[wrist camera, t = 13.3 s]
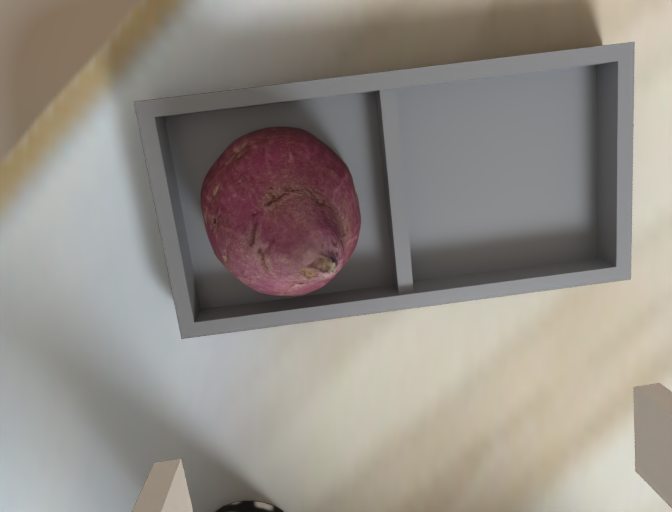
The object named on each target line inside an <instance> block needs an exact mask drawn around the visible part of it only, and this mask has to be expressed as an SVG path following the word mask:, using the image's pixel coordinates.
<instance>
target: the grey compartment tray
mask: <svg viewBox="0 0 672 512" xmlns="http://www.w3.org/2000/svg"><path fill="white" fill-rule="evenodd" d="M634 44H635V42H628V43H620V44H611V45H603V46H595V47H586V48H578V49H570V50H561V51H553V52H545V53H536V54H528V55H519V56H511V57H503V58H494V59H486V60H478V61H469V62H461V63H453V64H444V65H436V66H428V67H419V68H411V69H403V70H394V71H386V72H378V73H369V74H361V75H353V76H344V77H336V78H327V79H319V80H311V81H302V82H294V83H286V84H277V85H269V86H261V87H252V88H244V89H236V90H227V91H219V92H211V93H202V94H194V95H186V96H177V97H169V98H161V99H152V100H144V101H136V102H134V104H135V109H136V114H137V119H138V124H139V129H140V134H141V139H142V144H143V149H144V154H145V159H146V164H147V169H148V174H149V179H150V184H151V189H152V194H153V199H154V204H155V209H156V214H157V219H158V224H159V229H160V234H161V239H162V244H163V249H164V254H165V259H166V264H167V269H168V274H169V279H170V284H171V289H172V294H173V299H174V304H175V309H176V314H177V319H178V324H179V329H180V334H181V339H185V338H192V337H200V336H207V335H215V334H222V333H230V332H237V331H245V330H253V329H260V328H268V327H275V326H283V325H290V324H298V323H305V322H313V321H321V320H328V319H336V318H343V317H351V316H358V315H366V314H373V313H381V312H388V311H396V310H404V309H411V308H419V307H426V306H434V305H441V304H449V303H456V302H464V301H472V300H479V299H487V298H494V297H502V296H509V295H517V294H524V293H532V292H540V291H547V290H555V289H562V288H570V287H577V286H585V285H592V284H600V283H607V282H615V281H623V280H630V279H631V244H632V177H633V110H634ZM269 127H294V128H300V129H303V130H306V131H308V132H309V133H311V134H313V135H314V136H315V137H316V138H318V139H319V140H321V141H322V142H323V143H325V144H326V145H327V146H329V147H330V148H331V149H332V150H333V151H334V152H335V153H336V154H337V155H338V156H339V157H340V158H341V159H342V160H343V161H344V162H345V164H346V165H347V166H348V168H349V171H350V173H351V175H352V178H353V183H354V186H355V191H356V193H357V196H358V200H359V207H360V214H361V228H360V233H359V238H358V242H357V246H356V248H355V250H354V252H353V253H352V255H351V257H350V258H349V260H348V262H347V263H346V264H345V265H344V266H343V267H342V269H341V270H340V271H339V272H338V273H337V275H336V276H335V277H334V278H333V279H331V280H330V281H329V282H328V283H327V284H326V285H325V286H323V287H321V288H319V289H317V290H315V291H312V292H310V293H307V294H304V295H299V296H287V295H283V296H277V295H270V294H265V293H260V292H257V291H255V290H253V289H251V288H250V287H248V286H247V285H245V284H243V283H242V282H241V281H240V280H239V279H237V278H236V277H235V276H233V275H232V274H231V273H230V272H229V271H228V270H227V269H226V268H225V267H224V266H223V264H222V263H221V262H220V261H219V260H218V258H217V257H216V255H215V254H214V251H213V249H212V246H211V244H210V241H209V239H208V235H207V232H206V228H205V223H204V218H203V214H202V209H201V202H200V200H201V197H200V194H201V188H202V184H203V181H204V178H205V176H206V174H207V173H208V171H209V169H210V168H211V166H212V165H213V164H214V162H215V161H216V160H217V159H218V157H219V156H220V155H221V154H222V153H223V152H224V150H225V149H226V148H227V147H228V146H229V145H230V144H231V143H232V142H233V141H235V140H236V139H238V138H239V137H241V136H243V135H246V134H248V133H250V132H253V131H256V130H259V129H263V128H269Z"/></svg>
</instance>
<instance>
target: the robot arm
mask: <svg viewBox="0 0 672 512" xmlns="http://www.w3.org/2000/svg"><path fill="white" fill-rule="evenodd" d="M633 388H634V433H635V471H636V472H637V473H638V474H639V475H640V476H641V477H642V478H643V479H644V480H645V481H646V482H647V483H648V484H649V485H650V486H651V487H652V489H653V490H654V491H655V492H656V493H657V494H658V495H659V496H660V497H661V498H662V499H663V500H664V501H665V502H666V503H667V504H668V505H669V506H670V507H671V508H672V392H671V391H670V390H669V389H667V388H666V387H664V386H663V385H662V384H660V383H656V384H650V385H643V386H637V387H633ZM132 512H193V508H192V504H191V499H190V495H189V491H188V486H187V482H186V477H185V473H184V469H183V464H182V460H181V459H174V460H168V461H162V462H155V463H154V464H153V467H152V469H151V471H150V473H149V475H148V478H147V480H146V482H145V484H144V486H143V489H142V491H141V493H140V495H139V497H138V500H137V502H136V504H135V506H134V508H133V511H132Z"/></svg>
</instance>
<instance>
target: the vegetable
mask: <svg viewBox="0 0 672 512" xmlns="http://www.w3.org/2000/svg"><path fill="white" fill-rule="evenodd" d="M200 197H201V200H200V202H201V209H202V214H203V218H204V223H205V228H206V232H207V235H208V239H209V241H210V244H211V246H212V249H213V251H214V254H215V255H216V257H217V258H218V260H219V261H220V262H221V263H222V264H223V266H224V267H225V268H226V269H227V270H228V271H229V272H230V273H231V274H232V275H233V276H235V277H236V278H237V279H239V280H240V281H241V282H242V283H243V284H245V285H247V286H248V287H250V288H251V289H253V290H255V291H257V292H260V293H265V294H270V295H277V296H283V295H287V296H299V295H304V294H307V293H310V292H312V291H315V290H317V289H319V288H321V287H323V286H325V285H326V284H327V283H328V282H329V281H330V280H331V279H333V278H334V277H335V276H336V275H337V273H338V272H339V271H340V270H341V269H342V267H343V266H344V265H345V264H346V263H347V262H348V260H349V258H350V257H351V255H352V253H353V252H354V250H355V248H356V246H357V242H358V238H359V233H360V228H361V214H360V207H359V200H358V196H357V193H356V191H355V186H354V183H353V178H352V175H351V173H350V171H349V168H348V166H347V165H346V164H345V162H344V161H343V160H342V159H341V158H340V157H339V156H338V155H337V154H336V153H335V152H334V151H333V150H332V149H331V148H330V147H329V146H327V145H326V144H325V143H323V142H322V141H321V140H319V139H318V138H316V137H315V136H314V135H313V134H311V133H309V132H308V131H306V130H303V129H300V128H294V127H269V128H263V129H259V130H256V131H253V132H250V133H248V134H246V135H243V136H241V137H239V138H238V139H236V140H235V141H233V142H232V143H231V144H230V145H229V146H228V147H227V148H226V149H225V150H224V152H223V153H222V154H221V155H220V156H219V157H218V159H217V160H216V161H215V162H214V164H213V165H212V166H211V168H210V169H209V171H208V173H207V174H206V176H205V178H204V181H203V184H202V188H201V194H200Z"/></svg>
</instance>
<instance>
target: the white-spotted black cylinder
mask: <svg viewBox="0 0 672 512" xmlns="http://www.w3.org/2000/svg"><path fill="white" fill-rule="evenodd" d="M215 512H283V511H282V510H280V509H278V508H276V507H274V506H272V505H269V504H266V503H263V502H256V501H242V502H236V503H232V504H229V505H226V506H223V507H222V508H220V509H218V510H217V511H215Z"/></svg>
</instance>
